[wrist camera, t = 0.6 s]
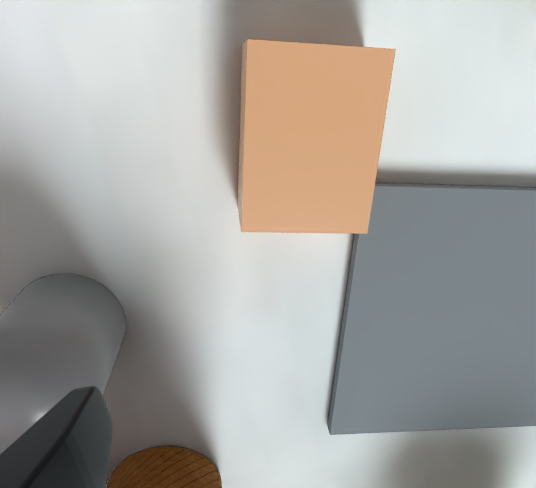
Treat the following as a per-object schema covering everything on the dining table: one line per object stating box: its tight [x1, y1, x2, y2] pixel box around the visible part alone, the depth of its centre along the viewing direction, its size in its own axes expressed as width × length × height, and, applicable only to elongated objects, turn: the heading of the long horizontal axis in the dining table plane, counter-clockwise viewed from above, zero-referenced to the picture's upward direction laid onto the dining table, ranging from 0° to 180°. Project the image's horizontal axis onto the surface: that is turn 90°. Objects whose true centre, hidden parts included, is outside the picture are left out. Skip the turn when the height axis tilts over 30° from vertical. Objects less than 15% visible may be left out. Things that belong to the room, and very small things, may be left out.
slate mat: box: [328, 183, 536, 435], centre depth 22 cm, size 14×14×1 cm
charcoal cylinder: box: [0, 274, 126, 454], centre depth 17 cm, size 5×5×6 cm
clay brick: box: [238, 39, 396, 234], centre depth 16 cm, size 5×6×3 cm
